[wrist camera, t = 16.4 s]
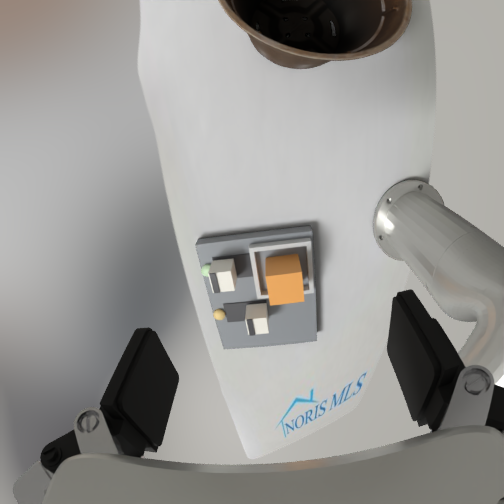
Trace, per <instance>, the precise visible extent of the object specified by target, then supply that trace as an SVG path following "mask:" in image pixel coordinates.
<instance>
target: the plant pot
mask: <svg viewBox="0 0 504 504" xmlns="http://www.w3.org/2000/svg"><path fill="white" fill-rule="evenodd" d="M218 1H219V3H220V5H221V6H222V8H223V9H224V11H225V12H226V13H227V14H228V16H229V17H230V18H231V19H232V20H233V21H234V22H235V23H236V24H237V25H238V26H239V27H240V28H241V29H243V30H244V31H245V32H247V33H248V35H249V37H250V39H251V41H252V43H253V45H254V46H255V48H256V49H257V50H258V52H259V53H260V54H262V55H263V56H264V57H266V58H267V59H268V60H270V61H272V62H273V63H275V64H278V65H280V66H283V67H287V68H294V69H307V68H313V67H317V66H320V65H322V64H325V63H327V62H329V61H342V60H353V59H359V58H363V57H367V56H370V55H373V54H376V53H379V52H381V51H383V50H385V49H387V48H388V47H390V46H391V45H393V44H394V43H395V42H396V41H397V40H398V39H399V38H400V37H401V36H402V34H403V33H404V32H405V30H406V28H407V26H408V24H409V21H410V18H411V13H412V0H286V1H283V0H218ZM284 17H287V18H288V20H287V21H284V20H283V18H284ZM303 17H307V18H308V19H307V20H306V21H305V20H303ZM330 20H331V21H332V22H333V23H334V25H335V30H336V36H333V35H332V34H331V33H332V30H331V24H330ZM257 22H258V23H259V26H260V31H259V32H258V31H256V28H255V27H256V23H257ZM286 33H290V37H286V36H285V35H286ZM306 33H309V34H310V36H309V37H306V36H305V34H306Z"/></svg>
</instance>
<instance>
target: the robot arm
mask: <svg viewBox="0 0 504 504" xmlns="http://www.w3.org/2000/svg"><path fill="white" fill-rule="evenodd" d="M418 186H419V187H418ZM387 199H388V200H387ZM386 200H387V201H386ZM373 232H374V237H375V239H376V242H377V244H378V245H379V247H380V248H381V249H382V251H383V252H384V253H385V254H386V255H388V256H389V257H391V258H393V259H395V260H400V261H405V262H406V264H407V265H408V266H409V267H410V269H411V270H412V271H413V272H414V274H415V275H416V276H417V278H418V279H419V280H420V281H421V283H422V284H423V285H424V287H425V288H426V289H427V291H428V292H429V293H430V295H431V296H432V297H433V299H434V300H435V301H436V303H437V304H438V306H439V307H440V308H441V309H442V311H443V312H444V313H445V314H447V315H448V316H449V317H451V318H453V319H456V320H459V321H465V322H476V321H477V324H476V326H475V328H474V330H473V331H472V333H471V335H470V336H469V338H468V339H467V341H466V343H465V345H464V346H463V347H462V349H461V350H460V351H459V353H457V351H456V350H455V348H454V346H453V345H452V343H451V342H450V340H449V338H448V337H447V335H446V334H445V332H444V330H443V329H442V327H441V326H440V324H439V323H438V321H437V320H436V319H434V318H431V317H430V315H429V314H428V312H427V311H426V309H425V308H424V306H423V305H422V303H421V302H420V300H419V299H418V297H417V296H416V294H415V293H414V291H413V290H406V291H402V292H398V293H397V296H396V297H393V301H392V312H391V321H390V329H389V337H388V344H387V352H388V356H389V358H390V361H391V363H392V366H393V368H394V371H395V373H396V376H397V379H398V381H399V384H400V386H401V389H402V391H403V395H404V397H405V400H406V403H407V406H408V409H409V411H410V414H411V417H412V419H413V421H416V420H417V422H418V425H419V427H420V426H423V425H426V424H428V426H429V428H430V430H431V432H430V433H428V434H425V435H421V436H417V437H414V438H411V439H408V440H404V441H400V442H397V443H393V444H389V445H385V446H381V447H377V448H373V449H369V450H364V451H360V452H355V453H350V454H345V455H340V456H334V457H328V458H321V459H314V460H306V461H297V462H287V463H274V464H254V465H216V464H215V465H214V464H194V463H181V462H171V461H162V460H154V459H146V458H145V457H144V451H150V452H157V449H158V446H160V445H161V444H162V441H163V437H164V434H165V430H166V426H167V422H168V418H169V414H170V411H171V407H172V403H173V400H174V396H175V393H176V389H177V385H178V382H179V375H178V373H177V371H176V369H175V368H174V366H173V364H172V362H171V360H170V358H169V357H168V355H167V353H166V351H165V349H164V347H163V345H162V343H161V341H160V339H159V337H158V335H157V333H156V332H155V331H152V329H151V328H138V329H136V330H135V332H134V334H133V336H132V338H131V339H130V341H129V343H128V345H127V347H126V350H125V351H124V354H123V355H122V357H121V360H120V362H119V363H118V366H117V368H116V370H115V372H114V374H113V376H112V378H111V380H110V382H109V384H108V387H107V389H106V391H105V393H104V395H103V397H102V400H101V402H100V405H101V407H100V409H98V408H95V407H89V408H86V409H84V410H82V411H81V412H80V413H79V414H78V415H77V416H76V418H75V420H74V430H72V431H71V432H69V433H68V434H65V435H64V436H62V437H60V438H58V439H56V440H55V441H53V442H51V443H49V444H48V445H46V446H45V447H44V449H43V450H42V453H41V457H40V458H41V462H39V461H36V462H35V463H34V464H33V465H32V466H31V467H30V468H29V469H28V470H27V471H26V472H25V473H24V474H23V475H22V476H21V477H20V478H19V479H18V480H17V481H16V482H15V483H14V487H13V493H14V496H15V498H16V500H17V502H18V504H504V247H503V246H501V245H500V244H498V243H497V242H496V241H494V240H493V239H491V238H490V237H489V236H487V235H486V234H485V233H484V232H482V231H481V230H479V229H478V228H477V227H475V226H474V225H472V224H471V223H470V222H468V221H467V220H465V219H464V218H462V217H461V216H459V215H458V214H456V213H455V212H453V211H452V210H450V209H448V208H447V207H445V206H444V202H443V200H442V198H441V196H440V195H439V193H438V192H437V190H435V189H434V188H433V187H432V186H431V185H429V184H427V183H425V182H422V181H419V180H406V181H403V182H400V183H398V184H396V185H395V186H393V187H392V188H391V189H389V190H388V191H387V192H386V193H385V194H384V196H383V197H382V198H381V200H380V202H379V203H378V205H377V208H376V210H375V214H374V219H373Z"/></svg>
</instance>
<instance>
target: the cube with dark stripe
mask: <svg viewBox="0 0 504 504" xmlns="http://www.w3.org/2000/svg"><path fill="white" fill-rule="evenodd" d="M245 321H246V326H247V331H248V335H250V336H253V335H255V334H266V333H269V316H268V310H267V303H261V304H250V305H247V306H246V316H245Z"/></svg>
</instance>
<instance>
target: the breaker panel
mask: <svg viewBox="0 0 504 504" xmlns="http://www.w3.org/2000/svg"><path fill="white" fill-rule="evenodd" d="M195 246H196V250H197V254H198V258H199V262H200V266H201V272H202V274H203V277H204V281H205V285H206V288H207V292H208V296H209V299H210V303H211V307H212V310H213V316H214V318H215V321H216V324H217V328H218V331H219V334H220V338H221V341H222V345H223V348H224V349H235V348H251V347H264V346H275V345H285V344H295V343H304V342H312V341H317V322H316V289H315V267H314V250H313V234H312V229H311V226H302V227H293V228H285V229H276V230H268V231H259V232H251V233H243V234H235V235H227V236H219V237H211V238H203V239H198V241H197V243H196V244H195ZM291 254H298V256H299V261H300V265H301V270H302V278H303V290H304V302H297V303H289V304H280V305H272V306H270V301H269V295H268V289H267V283H266V277H265V260H266V258H268V257H275V256H283V255H291ZM232 258H233V259H234V264H235V269H236V273H237V281H236V287H235V291H227V292H220V293H213V291H212V287H211V284H210V280H209V276H208V272H209V269H210V266H211V263H212V261H214V260H223V259H232ZM261 303H267V310H268V316H269V333H266V334H255V335H253V336H250V335H248V331H247V326H246V321H245V316H246V306H247V305H250V304H261Z"/></svg>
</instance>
